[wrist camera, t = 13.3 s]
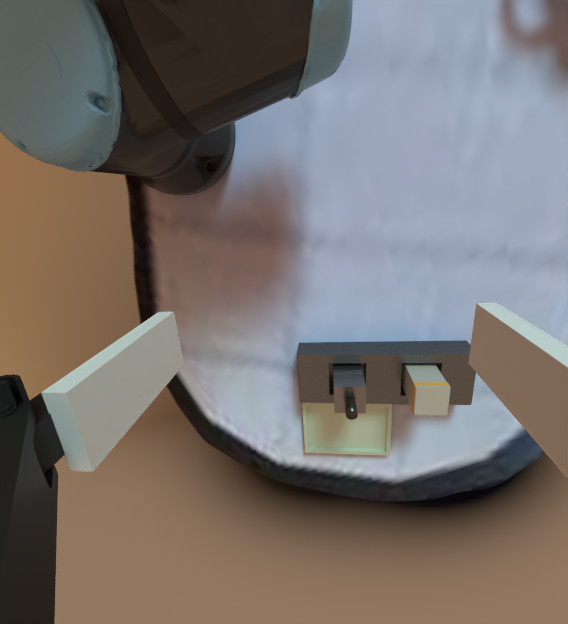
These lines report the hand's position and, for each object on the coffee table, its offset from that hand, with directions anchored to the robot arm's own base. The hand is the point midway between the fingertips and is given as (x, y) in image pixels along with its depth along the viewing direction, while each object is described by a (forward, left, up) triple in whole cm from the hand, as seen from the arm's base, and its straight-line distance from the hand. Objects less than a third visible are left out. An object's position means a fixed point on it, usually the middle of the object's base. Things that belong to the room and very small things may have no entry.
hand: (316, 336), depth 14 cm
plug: (+13, -19, -31) cm, 38 cm away
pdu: (+8, -19, -32) cm, 38 cm away
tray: (+3, -30, -32) cm, 44 cm away
